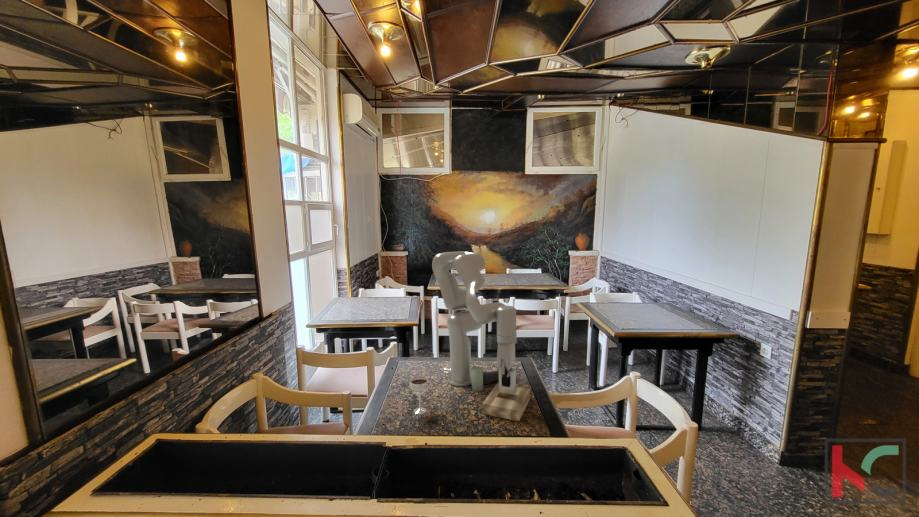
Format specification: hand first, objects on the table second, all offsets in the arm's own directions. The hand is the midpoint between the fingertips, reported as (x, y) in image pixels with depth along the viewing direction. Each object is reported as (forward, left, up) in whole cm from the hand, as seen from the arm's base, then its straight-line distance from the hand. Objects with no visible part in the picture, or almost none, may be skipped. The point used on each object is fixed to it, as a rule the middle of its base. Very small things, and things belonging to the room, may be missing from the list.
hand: (507, 383), depth 131 cm
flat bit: (0, 0, -3) cm, 3 cm away
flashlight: (-11, +20, -9) cm, 25 cm away
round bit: (-16, +9, -9) cm, 21 cm away
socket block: (0, 0, -9) cm, 9 cm away
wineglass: (-30, -16, -9) cm, 35 cm away
